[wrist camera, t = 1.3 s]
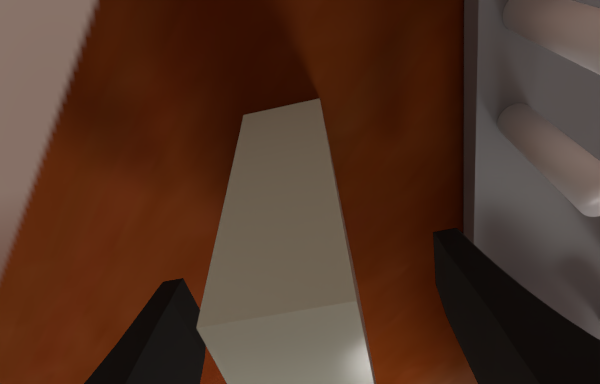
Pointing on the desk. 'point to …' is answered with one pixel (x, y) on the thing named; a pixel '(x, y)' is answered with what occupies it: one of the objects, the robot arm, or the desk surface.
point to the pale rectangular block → (284, 261)
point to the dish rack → (536, 147)
